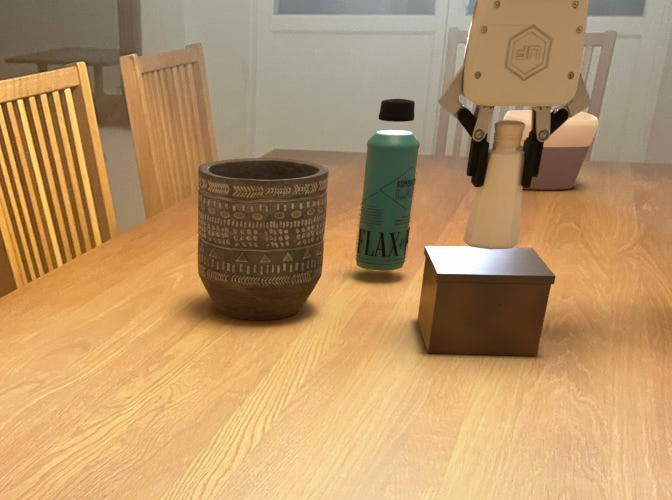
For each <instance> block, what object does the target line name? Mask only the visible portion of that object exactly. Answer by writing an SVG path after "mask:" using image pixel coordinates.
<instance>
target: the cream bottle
mask: <svg viewBox="0 0 672 500" xmlns="http://www.w3.org/2000/svg"><path fill="white" fill-rule="evenodd" d="M493 127H494V133H493V138H492V139H493V142H492V148H489V151H488V157H487V164H486V170H485V176H484V183H483V186H481V187H475V191H474V195H473V200H472V203H471V208H470V211H469V216H468V218H467V219H468V220H467V223H466V227H465V231H464V235H463V239H462V241H463V243H464V244H466V245H468V247H477V248H483V249H509V248H511V247H512V248H515V247H516V246H518V245H519V238H520V223H521V214H522V213H521V212H522V202H523V201H522V200H523V190H524V189H523V186H521V183H522V176H523V169H524V162H525V152H524V151H522V150H520V146H521V145H520V142H521V140H522V139H521V138H522V132H523V130H524V128H525V124H524V123H523V122H522V121H517V120H503V119H502V120H497V121H495V123H494V126H493Z"/></svg>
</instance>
